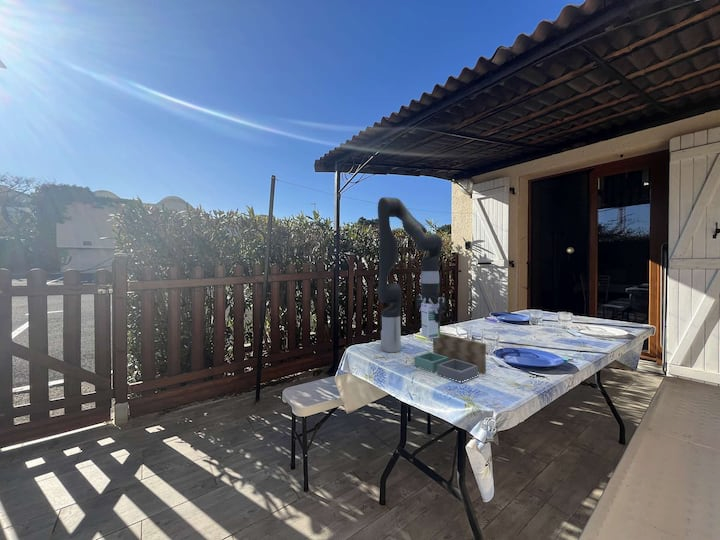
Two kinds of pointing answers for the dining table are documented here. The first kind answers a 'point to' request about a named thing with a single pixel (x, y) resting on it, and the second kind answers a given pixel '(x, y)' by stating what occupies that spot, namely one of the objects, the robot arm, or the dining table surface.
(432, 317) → the syrup box
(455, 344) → the back panel
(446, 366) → the box
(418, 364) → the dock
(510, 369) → the dining table surface
